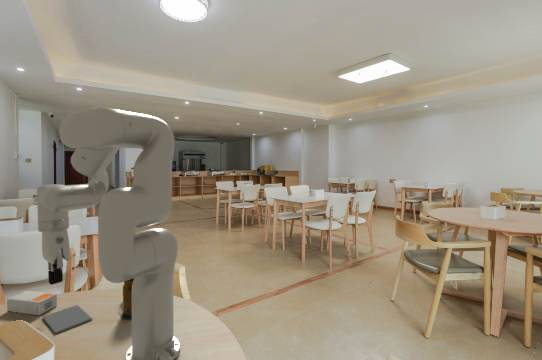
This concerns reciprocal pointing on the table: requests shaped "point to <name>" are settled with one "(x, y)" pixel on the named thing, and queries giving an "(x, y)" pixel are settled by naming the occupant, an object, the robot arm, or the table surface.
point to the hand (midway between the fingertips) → (55, 282)
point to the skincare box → (32, 302)
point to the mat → (66, 319)
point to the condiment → (127, 301)
